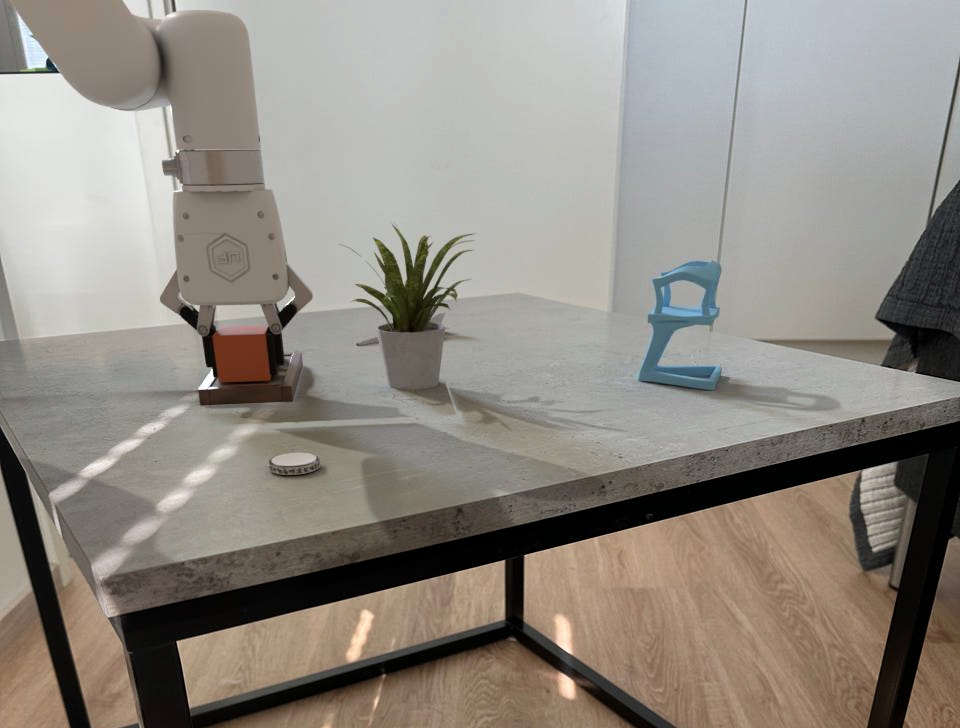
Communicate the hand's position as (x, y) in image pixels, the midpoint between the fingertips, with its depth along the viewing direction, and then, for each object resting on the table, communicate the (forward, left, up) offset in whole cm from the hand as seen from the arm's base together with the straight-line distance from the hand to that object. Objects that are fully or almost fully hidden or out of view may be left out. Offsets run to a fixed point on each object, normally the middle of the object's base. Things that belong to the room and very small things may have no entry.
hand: (246, 371), depth 94 cm
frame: (0, +4, -3) cm, 5 cm away
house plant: (+18, +1, -3) cm, 18 cm away
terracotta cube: (0, 0, 0) cm, 0 cm away
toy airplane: (+18, +31, -3) cm, 36 cm away
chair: (+45, 0, -3) cm, 45 cm away
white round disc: (+6, -25, -3) cm, 26 cm away
